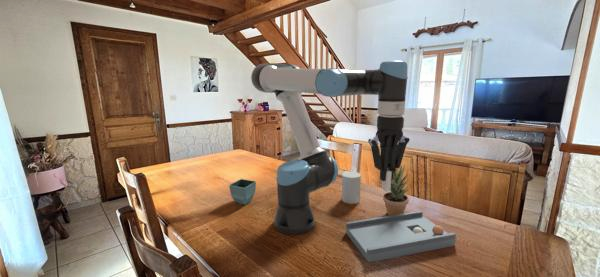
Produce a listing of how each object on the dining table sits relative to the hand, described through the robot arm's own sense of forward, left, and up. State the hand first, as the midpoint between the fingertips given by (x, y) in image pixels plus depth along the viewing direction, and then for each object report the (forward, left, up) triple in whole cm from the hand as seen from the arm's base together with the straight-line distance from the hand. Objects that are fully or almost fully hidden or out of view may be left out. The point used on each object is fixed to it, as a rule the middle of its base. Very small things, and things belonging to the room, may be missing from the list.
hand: (385, 189), depth 81 cm
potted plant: (+14, +14, -18) cm, 27 cm away
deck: (+5, -1, -18) cm, 19 cm away
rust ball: (+16, -6, -14) cm, 22 cm away
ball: (+12, -1, -16) cm, 20 cm away
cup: (+3, +31, -18) cm, 37 cm away
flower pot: (-44, +43, -18) cm, 65 cm away
